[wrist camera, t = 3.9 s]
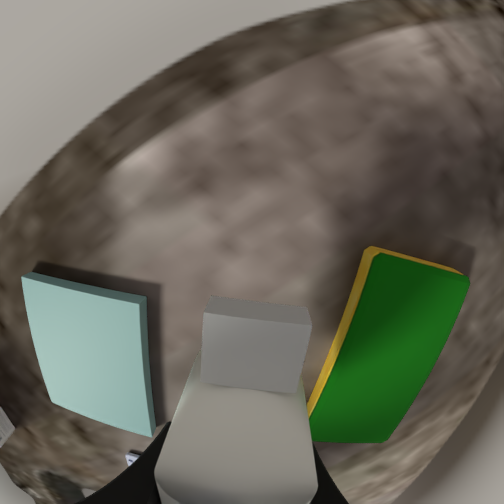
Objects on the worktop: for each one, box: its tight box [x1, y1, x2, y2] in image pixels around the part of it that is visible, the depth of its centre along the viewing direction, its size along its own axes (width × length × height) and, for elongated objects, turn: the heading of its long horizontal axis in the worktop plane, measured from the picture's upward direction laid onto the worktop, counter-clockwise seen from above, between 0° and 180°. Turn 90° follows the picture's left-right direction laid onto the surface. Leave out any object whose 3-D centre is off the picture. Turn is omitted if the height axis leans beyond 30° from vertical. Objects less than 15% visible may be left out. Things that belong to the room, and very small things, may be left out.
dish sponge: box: [307, 246, 470, 443], centre depth 17 cm, size 7×14×2 cm, turn 168°
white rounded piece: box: [154, 296, 318, 504], centre depth 8 cm, size 11×4×5 cm, turn 173°
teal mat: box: [22, 272, 156, 437], centre depth 18 cm, size 12×10×1 cm
